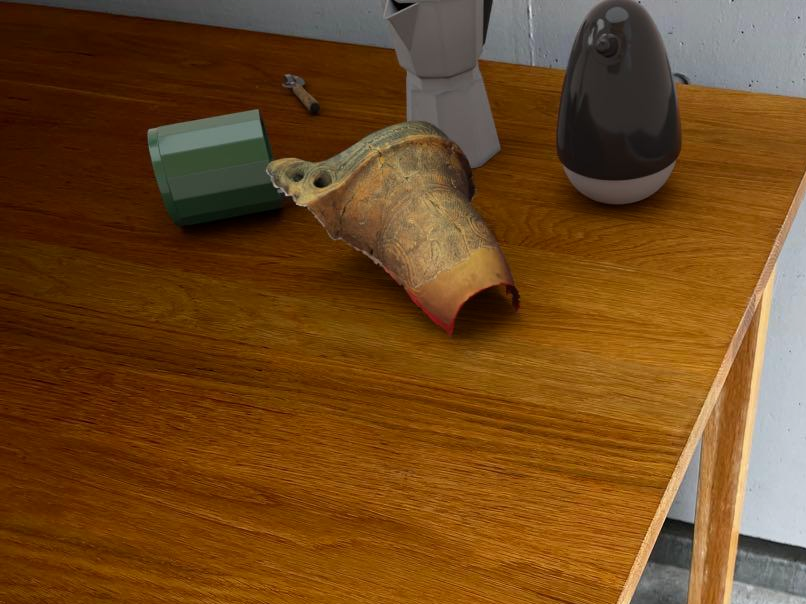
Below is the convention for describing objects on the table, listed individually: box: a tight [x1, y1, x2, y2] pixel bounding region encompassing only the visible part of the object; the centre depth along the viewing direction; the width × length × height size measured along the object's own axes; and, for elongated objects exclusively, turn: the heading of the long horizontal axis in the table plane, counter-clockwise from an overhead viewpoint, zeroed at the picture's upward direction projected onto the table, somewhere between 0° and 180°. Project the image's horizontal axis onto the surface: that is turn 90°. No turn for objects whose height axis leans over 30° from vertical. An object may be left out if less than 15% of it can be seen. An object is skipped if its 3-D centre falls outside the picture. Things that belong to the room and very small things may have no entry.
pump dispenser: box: [555, 0, 683, 205], centre depth 83 cm, size 10×10×15 cm
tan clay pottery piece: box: [266, 121, 522, 338], centre depth 79 cm, size 17×11×18 cm
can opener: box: [281, 73, 321, 114], centre depth 104 cm, size 9×2×1 cm, turn 22°
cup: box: [147, 108, 285, 227], centre depth 88 cm, size 8×8×9 cm
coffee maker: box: [379, 0, 502, 169], centre depth 89 cm, size 15×9×18 cm, turn 148°
